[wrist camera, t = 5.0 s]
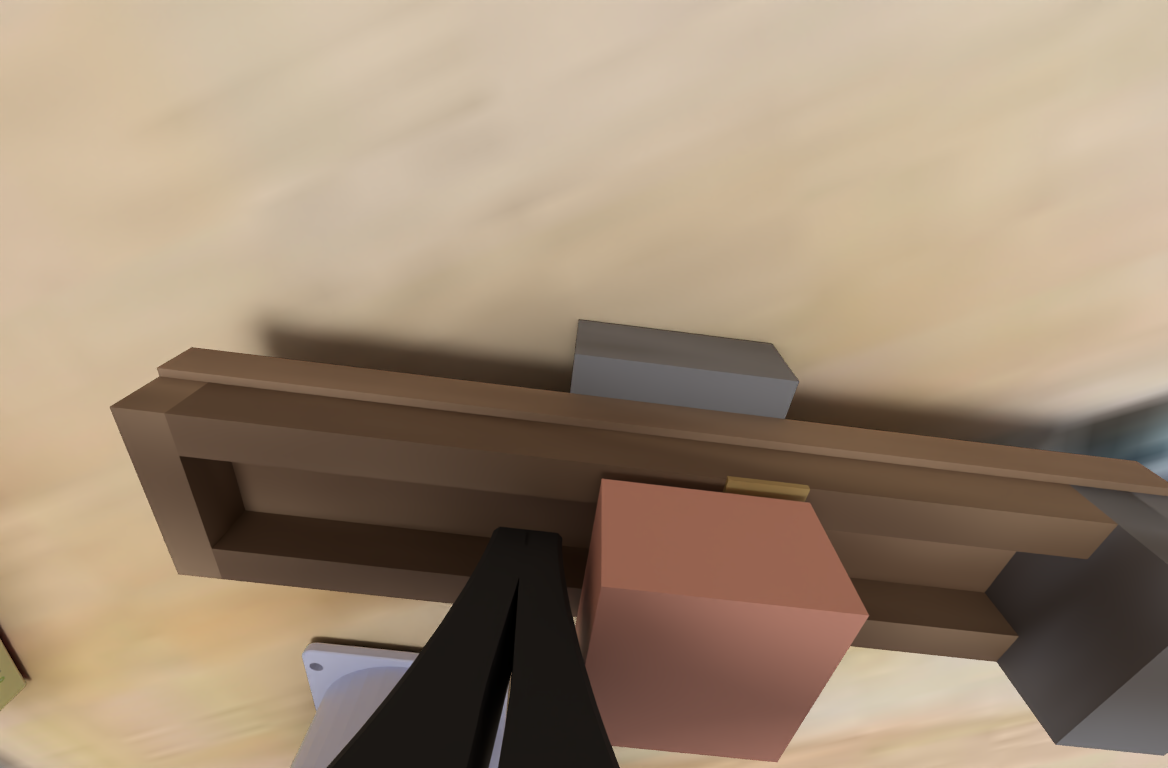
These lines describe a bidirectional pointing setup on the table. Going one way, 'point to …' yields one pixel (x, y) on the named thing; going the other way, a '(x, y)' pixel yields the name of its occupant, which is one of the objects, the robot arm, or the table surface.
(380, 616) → the table surface
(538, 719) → the robot arm
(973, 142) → the table surface
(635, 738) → the block
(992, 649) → the beam
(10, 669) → the box
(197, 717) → the table surface
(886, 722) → the table surface
